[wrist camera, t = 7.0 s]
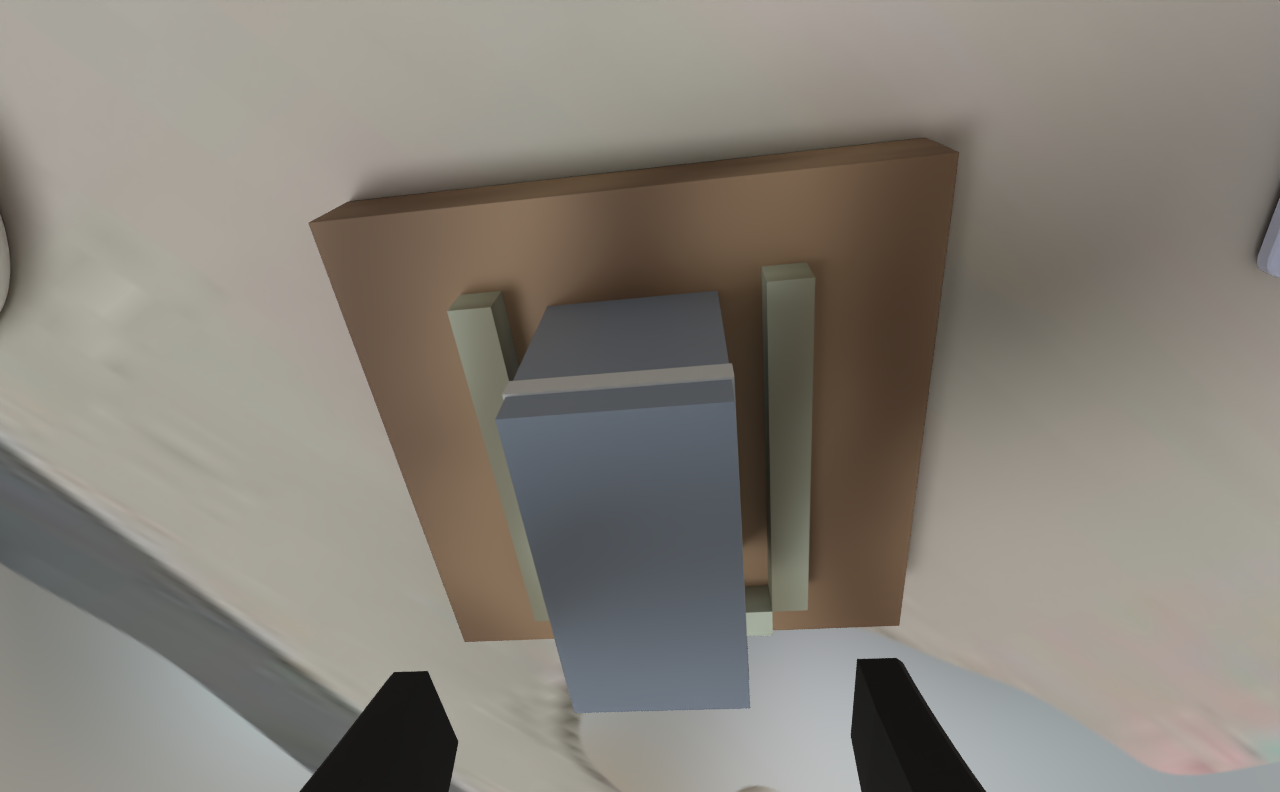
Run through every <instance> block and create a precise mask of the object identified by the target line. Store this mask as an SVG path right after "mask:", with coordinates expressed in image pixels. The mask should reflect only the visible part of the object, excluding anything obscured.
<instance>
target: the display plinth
mask: <svg viewBox="0 0 1280 792" xmlns="http://www.w3.org/2000/svg"><path fill="white" fill-rule="evenodd" d="M958 157H959V152H957V151H955V150H952V149H950V148H948V147H946V146H943V145H941V144H939V143H937V142H934V141H932V140H930V139H928V138H918V139H909V140H900V141H891V142H882V143H872V144H863V145H854V146H845V147H836V148H827V149H818V150H809V151H800V152H791V153H782V154H773V155H764V156H755V157H746V158H737V159H728V160H719V161H710V162H701V163H692V164H683V165H674V166H665V167H656V168H647V169H638V170H629V171H620V172H611V173H602V174H593V175H584V176H575V177H566V178H557V179H548V180H539V181H530V182H521V183H512V184H503V185H494V186H485V187H476V188H467V189H458V190H449V191H440V192H431V193H422V194H413V195H404V196H395V197H386V198H377V199H368V200H359V201H350V202H347V203H345V204H343V205H341V206H339V207H337V208H335V209H334V210H332V211H330V212H328V213H326V214H324V215H322V216H321V217H319V218H317V219H315V220H313V221H311V222H309V226H310V228H311V231H312V234H313V236H314V239H315V242H316V244H317V247H318V250H319V253H320V255H321V258H322V261H323V263H324V266H325V269H326V271H327V274H328V277H329V279H330V282H331V285H332V287H333V290H334V293H335V295H336V298H337V301H338V303H339V306H340V309H341V311H342V314H343V317H344V320H345V322H346V325H347V328H348V330H349V333H350V336H351V338H352V341H353V344H354V346H355V349H356V352H357V354H358V357H359V360H360V362H361V365H362V368H363V370H364V373H365V376H366V378H367V381H368V384H369V387H370V389H371V392H372V395H373V397H374V400H375V403H376V405H377V408H378V411H379V413H380V416H381V419H382V421H383V424H384V427H385V429H386V432H387V435H388V437H389V440H390V443H391V445H392V448H393V451H394V453H395V456H396V459H397V462H398V464H399V467H400V470H401V472H402V475H403V478H404V480H405V483H406V486H407V488H408V491H409V494H410V496H411V499H412V502H413V504H414V507H415V510H416V512H417V515H418V518H419V520H420V523H421V526H422V529H423V531H424V534H425V537H426V539H427V542H428V545H429V547H430V550H431V553H432V555H433V558H434V561H435V563H436V566H437V569H438V571H439V574H440V577H441V579H442V582H443V585H444V587H445V590H446V593H447V596H448V598H449V601H450V604H451V606H452V609H453V612H454V614H455V617H456V620H457V622H458V625H459V628H460V630H461V633H462V636H463V638H464V641H465V642H476V641H502V640H529V639H554V635H553V631H552V628H551V624H550V620H549V617H548V613H547V609H546V606H545V602H544V598H543V595H542V591H541V587H540V583H539V580H538V576H537V572H536V569H535V565H534V561H533V558H532V554H531V550H530V546H529V543H528V539H527V535H526V532H525V528H524V524H523V521H522V517H521V513H520V510H519V506H518V502H517V498H516V495H515V491H514V487H513V484H512V480H511V476H510V473H509V469H508V465H507V462H506V458H505V454H504V450H503V447H502V443H501V439H500V436H499V432H498V428H497V425H496V421H495V419H496V416H497V414H498V412H499V410H500V408H501V406H502V403H503V401H504V400H503V396H502V394H503V392H504V390H505V388H506V385H507V383H508V381H513V379H514V377H515V375H516V373H517V371H518V369H519V366H520V364H521V362H522V360H523V358H524V356H525V353H526V351H527V349H528V347H529V345H530V342H531V340H532V338H533V336H534V334H535V332H536V329H537V327H538V325H539V323H540V321H541V319H542V316H543V314H544V312H545V310H546V308H547V306H556V305H567V304H577V303H588V302H599V301H610V300H621V299H632V298H642V297H653V296H664V295H675V294H686V293H697V292H708V291H718V296H719V303H720V309H721V316H722V322H723V328H724V335H725V341H726V347H727V354H728V360H729V363H732V365H733V371H734V380H735V400H736V421H737V441H738V462H739V482H740V503H741V523H742V544H743V564H744V584H745V605H746V625H747V636H762V635H773V630H794V629H820V628H847V627H873V626H899V623H900V615H901V607H902V599H903V591H904V583H905V575H906V568H907V560H908V552H909V544H910V536H911V528H912V520H913V512H914V504H915V497H916V489H917V481H918V473H919V465H920V457H921V449H922V441H923V433H924V426H925V418H926V410H927V402H928V394H929V386H930V378H931V370H932V362H933V355H934V347H935V339H936V331H937V323H938V315H939V307H940V299H941V291H942V284H943V276H944V268H945V260H946V252H947V244H948V236H949V228H950V220H951V213H952V205H953V197H954V189H955V181H956V173H957V165H958Z"/></svg>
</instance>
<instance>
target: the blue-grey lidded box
mask: <svg viewBox="0 0 1280 792" xmlns="http://www.w3.org/2000/svg"><path fill="white" fill-rule="evenodd" d="M502 396H503V400H504V401H503V403H502V406H501V408H500V410H499V412H498V414H497V416H496V419H495V421H496V425H497V428H498V432H499V436H500V439H501V443H502V447H503V450H504V454H505V458H506V462H507V465H508V469H509V473H510V476H511V480H512V484H513V487H514V491H515V495H516V498H517V502H518V506H519V510H520V513H521V517H522V521H523V524H524V528H525V532H526V535H527V539H528V543H529V546H530V550H531V554H532V558H533V561H534V565H535V569H536V572H537V576H538V580H539V583H540V587H541V591H542V595H543V598H544V602H545V606H546V609H547V613H548V617H549V620H550V624H551V628H552V631H553V635H554V639H555V643H556V646H557V650H558V654H559V657H560V661H561V665H562V668H563V672H564V676H565V679H566V683H567V687H568V691H569V694H570V698H571V702H572V705H573V709H574V713H591V712H626V711H627V712H628V711H664V710H665V711H666V710H700V709H701V710H702V709H741V708H750V696H749V666H748V646H747V625H746V605H745V584H744V564H743V544H742V523H741V503H740V482H739V462H738V441H737V421H736V400H735V380H734V371H733V365H732V363H729V360H728V354H727V347H726V341H725V335H724V328H723V322H722V316H721V309H720V303H719V296H718V291H708V292H697V293H686V294H675V295H664V296H653V297H642V298H632V299H621V300H610V301H599V302H588V303H577V304H567V305H556V306H547V308H546V310H545V312H544V314H543V316H542V319H541V321H540V323H539V325H538V327H537V329H536V332H535V334H534V336H533V338H532V340H531V342H530V345H529V347H528V349H527V351H526V353H525V356H524V358H523V360H522V362H521V364H520V366H519V369H518V371H517V373H516V375H515V377H514V379H513V381H508V383H507V385H506V388H505V390H504V392H503V394H502Z"/></svg>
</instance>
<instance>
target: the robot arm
mask: <svg viewBox="0 0 1280 792" xmlns="http://www.w3.org/2000/svg"><path fill="white" fill-rule="evenodd" d="M1257 264H1258V267H1259V269H1260V270H1262V271H1263V272H1265V273H1267V274H1270V275H1272V276H1274V277H1280V198H1279V201H1278V204H1277V206H1276V209H1275V212H1274V214H1273V217H1272V220H1271V222H1270V225H1269V228H1268V230H1267V233H1266V236H1265V238H1264V241H1263V244H1262V246H1261V249H1260V252H1259V254H1258V259H1257ZM851 739H852V745H853V749H854V755H855V760H856V766H857V771H858V776H859V781H860V786H861V791H862V792H986V791H985V790H984V788H983V787H982V785H981V784H980V783H979V781H978V780H977V778H976V777H975V776H974V774H973V773H972V771H971V770H970V769H969V767H968V766H967V764H966V763H965V761H964V760H963V759H962V757H961V755H960V754H959V752H958V751H957V750H956V748H955V747H954V745H953V743H952V742H951V740H950V739H949V737H948V736H947V734H946V733H945V731H944V730H943V728H942V727H941V725H940V724H939V722H938V721H937V719H936V717H935V716H934V714H933V713H932V711H931V710H930V708H929V706H928V705H927V703H926V701H925V700H924V698H923V697H922V695H921V693H920V692H919V690H918V688H917V687H916V685H915V683H914V682H913V680H912V678H911V676H910V675H909V673H908V671H907V669H906V667H905V666H904V664H903V663H902V662H901V661H900V660H898V659H897V658H881V659H857V667H856V680H855V692H854V703H853V716H852V727H851ZM457 746H458V740H457V738H456V735H455V733H454V731H453V728H452V726H451V724H450V722H449V719H448V717H447V715H446V712H445V710H444V708H443V705H442V703H441V701H440V698H439V696H438V694H437V691H436V689H435V687H434V685H433V682H432V680H431V678H430V675H429V673H428V671H417V672H394V673H393V674H392V675H391V676H390V677H389V679H388V680H387V681H386V682H385V684H384V685H383V686H382V688H381V689H380V690H379V691H378V693H377V694H376V695H375V697H374V698H373V699H372V700H371V702H370V703H369V704H368V706H367V707H366V708H365V709H364V711H363V712H362V713H361V715H360V716H359V717H358V719H357V720H356V721H355V722H354V724H353V725H352V726H351V728H350V729H349V730H348V731H347V733H346V734H345V735H344V737H343V738H342V739H341V740H340V742H339V743H338V744H337V746H336V747H335V748H334V749H333V751H332V752H331V753H330V754H329V756H328V757H327V758H326V760H325V761H324V762H323V763H322V764H321V766H320V767H319V768H318V769H317V771H316V772H315V773H314V774H313V776H312V777H311V778H310V779H309V781H308V782H307V783H306V784H305V786H304V787H303V788H302V789H301V790H300V792H448V791H449V786H450V782H451V777H452V772H453V767H454V762H455V756H456V751H457Z"/></svg>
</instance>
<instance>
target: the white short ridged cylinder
mask: <svg viewBox="0 0 1280 792" xmlns="http://www.w3.org/2000/svg"><path fill="white" fill-rule="evenodd" d="M9 281H10V256H9V247H8V242H7V237H6V232H5V227H4V224H3V221H2V218H1V215H0V312H1V310H2V308H3V306H4V304H5V300H6V297H7V293H8V290H9Z"/></svg>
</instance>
